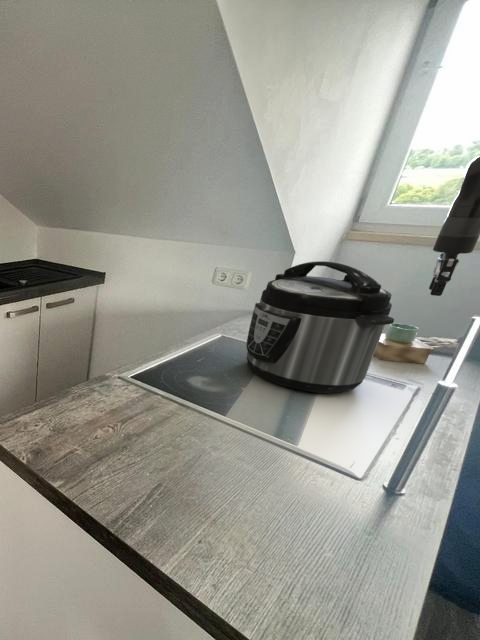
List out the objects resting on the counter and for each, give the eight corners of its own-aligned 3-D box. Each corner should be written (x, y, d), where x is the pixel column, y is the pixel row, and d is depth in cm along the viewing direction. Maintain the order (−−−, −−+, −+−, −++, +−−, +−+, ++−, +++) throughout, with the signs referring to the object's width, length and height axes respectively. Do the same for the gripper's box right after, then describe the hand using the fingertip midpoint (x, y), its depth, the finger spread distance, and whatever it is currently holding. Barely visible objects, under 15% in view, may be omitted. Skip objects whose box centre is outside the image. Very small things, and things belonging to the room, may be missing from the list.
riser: (404, 349, 126) (411, 335, 124) (428, 364, 116) (435, 349, 114) (359, 346, 130) (365, 332, 128) (378, 360, 119) (385, 345, 117)
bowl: (409, 338, 122) (415, 325, 120) (415, 345, 117) (421, 331, 115) (382, 335, 125) (388, 322, 123) (386, 341, 120) (392, 327, 118)
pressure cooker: (236, 348, 129) (260, 251, 117) (343, 363, 118) (383, 256, 105) (241, 386, 105) (273, 269, 92) (377, 410, 93) (434, 278, 80)
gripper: (483, 237, 99) (455, 299, 105) (476, 232, 108) (451, 289, 115) (440, 236, 104) (416, 295, 110) (437, 231, 113) (415, 286, 119)
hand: (434, 292), depth 112 cm, fingers open, 8 cm apart
